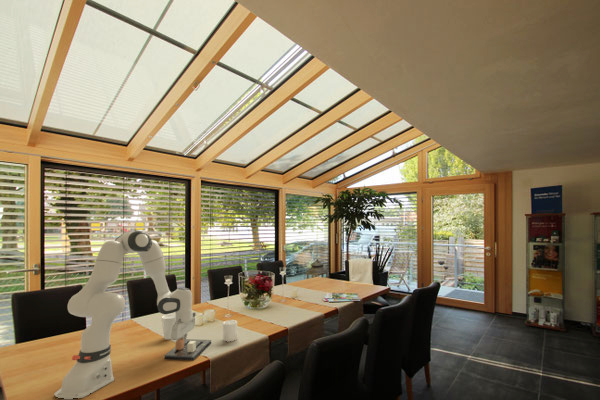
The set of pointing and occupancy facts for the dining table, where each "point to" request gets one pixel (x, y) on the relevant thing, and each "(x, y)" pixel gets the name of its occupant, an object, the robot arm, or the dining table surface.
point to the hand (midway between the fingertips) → (183, 342)
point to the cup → (230, 330)
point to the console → (185, 355)
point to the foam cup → (168, 325)
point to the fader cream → (191, 346)
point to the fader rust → (179, 344)
